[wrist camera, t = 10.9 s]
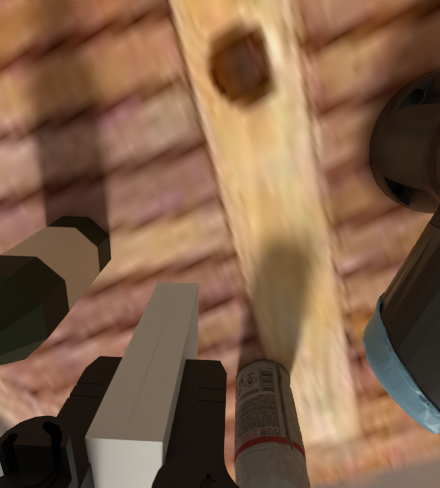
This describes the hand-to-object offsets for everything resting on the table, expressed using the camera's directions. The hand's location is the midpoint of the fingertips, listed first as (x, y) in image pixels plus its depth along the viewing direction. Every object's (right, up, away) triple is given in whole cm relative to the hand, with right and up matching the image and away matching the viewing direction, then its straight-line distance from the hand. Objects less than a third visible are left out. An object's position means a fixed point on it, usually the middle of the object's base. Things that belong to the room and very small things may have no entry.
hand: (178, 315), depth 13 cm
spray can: (+8, -18, +38) cm, 42 cm away
